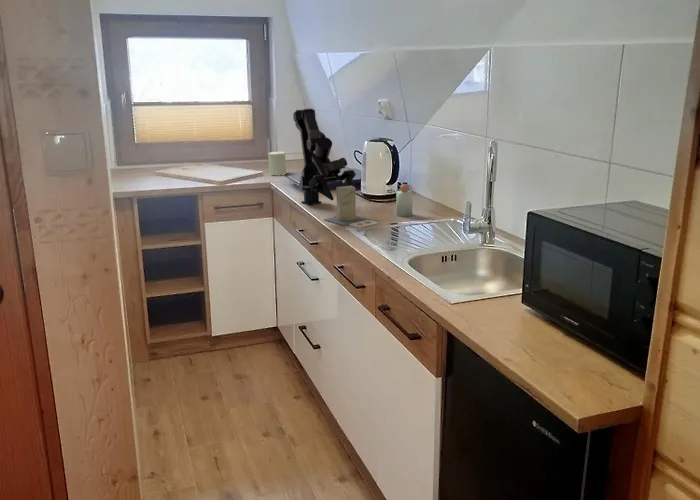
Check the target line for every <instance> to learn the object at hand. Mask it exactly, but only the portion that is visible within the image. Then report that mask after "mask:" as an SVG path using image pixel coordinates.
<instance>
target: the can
mask: <svg viewBox="0 0 700 500" xmlns="http://www.w3.org/2000/svg"><path fill="white" fill-rule="evenodd" d="M267 157H268V171H269V172H268V173H269V174H271V175H283V174H284V173H287V166H286V165H287V162H286V161H287V160H286V152H285V151H271V152H267ZM269 174H268V175H269ZM283 176H284V175H283Z"/></svg>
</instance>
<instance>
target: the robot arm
mask: <svg viewBox="0 0 700 500" xmlns="http://www.w3.org/2000/svg"><path fill="white" fill-rule="evenodd" d="M292 118H293V122H295V127H296V128H297V130H298V131H299V132H300V140H301V148H302V156H303V164H304V165H303V169H302V171H301V176H300V179H299V189H300V190H301V191H303V201H302V200H301V202H300V203H301V204H305V205H309V206H311V205H316V204H322V203H323V201H321V200H320V195H319V194H321V195H323V196H325V197H326V198H327V199H329V200H330V201H334V196H333V193H332V192H331V189H330V188H329V186H328V184H330V183H334V182H339V183H340V184H341V186H353V182H352V181H353V179H355V177H356V175H357V174H356V172H355V171H354V170H353V169H347V170H344V171H343V172H342V173H341V170H342V169H345V168H346V167H347V166H348V162H347V160H346V158H345V157H341V158H339V159H334V160H332V161H331V160H330V159H331V158H329V157H330V154H331V151H332V146H333V141H332V140H331V139H330V138H329V137H327V136H326V135H325V133H323V132H322V131H321V130H320V128H319V125H318V122H317V118H316V110H315V109H314V108H303V109H296V110H295V111H294V112H293V115H292ZM340 173H341V175H340Z"/></svg>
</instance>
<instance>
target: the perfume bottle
mask: <svg viewBox="0 0 700 500" xmlns="http://www.w3.org/2000/svg"><path fill="white" fill-rule="evenodd" d="M399 188H400V190H397V191H396V194H395V195H396V200H395V201H396V203H395V204H396V216H397V217H401V218H409V217H412V216H413V191H412V190H410V189H409V185H408V184H406V183H403V184H401V185H400V186H399Z"/></svg>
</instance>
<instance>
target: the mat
mask: <svg viewBox="0 0 700 500" xmlns="http://www.w3.org/2000/svg"><path fill="white" fill-rule="evenodd" d="M365 220H370V219H369V218H366V217H362V216H358V215H356V219H355V220H345V221H340V220H339V219H337V216H331V217H328V218H324V219H323V221H325V222H328V223H332V224H335V225H339V226H342V227H346V226H350V225H349V224H352V223H356V222H361V221H365Z"/></svg>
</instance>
